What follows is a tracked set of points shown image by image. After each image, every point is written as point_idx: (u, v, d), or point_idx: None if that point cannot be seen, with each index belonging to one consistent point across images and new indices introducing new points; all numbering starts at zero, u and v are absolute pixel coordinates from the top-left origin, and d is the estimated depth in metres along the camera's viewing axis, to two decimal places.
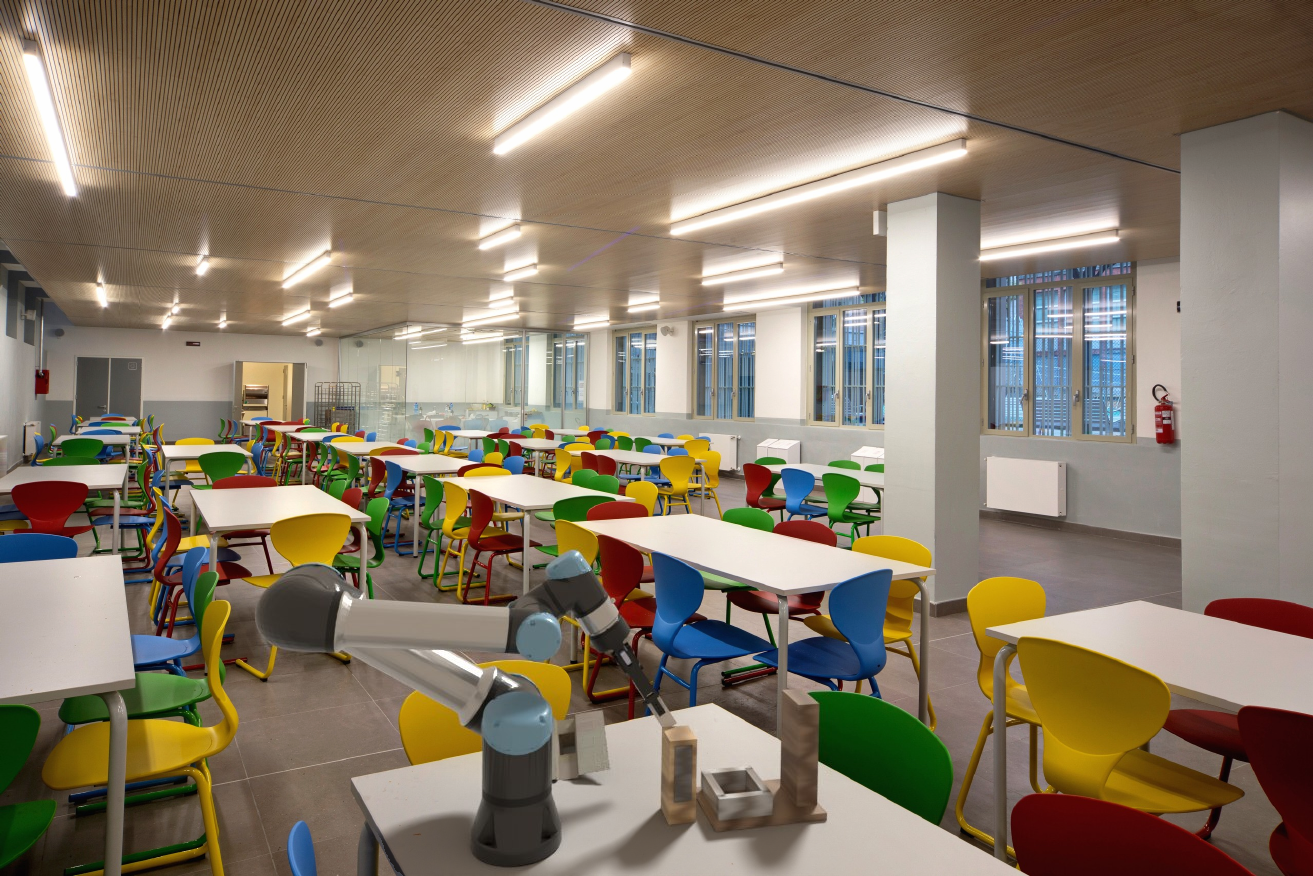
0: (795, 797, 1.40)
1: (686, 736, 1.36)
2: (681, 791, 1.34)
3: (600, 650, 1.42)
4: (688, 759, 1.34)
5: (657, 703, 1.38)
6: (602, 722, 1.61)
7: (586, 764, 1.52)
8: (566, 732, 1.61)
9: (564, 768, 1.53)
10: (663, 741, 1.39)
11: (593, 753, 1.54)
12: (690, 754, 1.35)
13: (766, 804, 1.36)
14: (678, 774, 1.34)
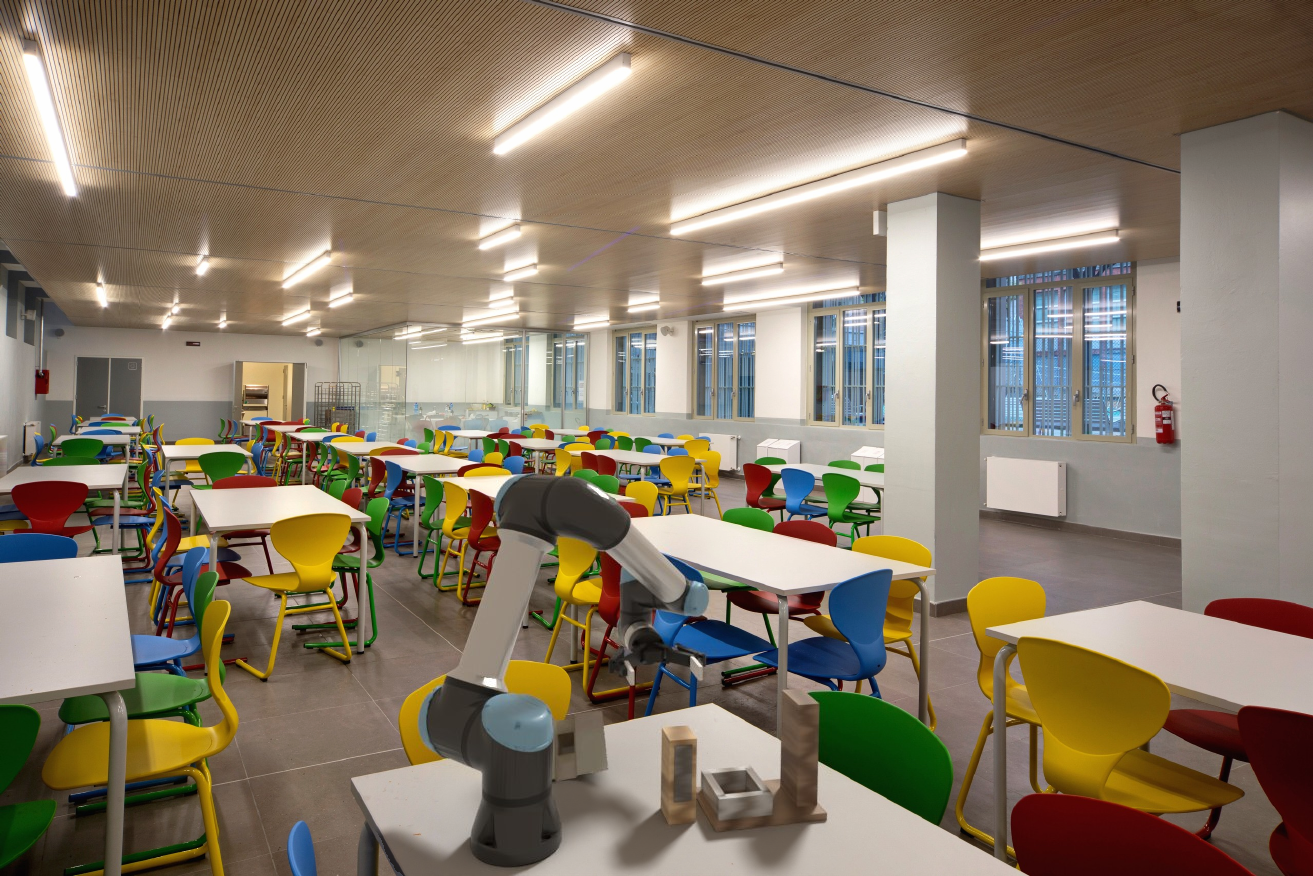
0: (795, 797, 1.40)
1: (685, 736, 1.36)
2: (681, 791, 1.35)
3: (656, 633, 1.65)
4: (688, 759, 1.35)
5: None
6: (601, 722, 1.60)
7: (584, 764, 1.52)
8: (565, 732, 1.60)
9: (562, 768, 1.53)
10: (663, 741, 1.39)
11: (592, 753, 1.54)
12: (689, 753, 1.35)
13: (766, 804, 1.36)
14: (678, 774, 1.34)
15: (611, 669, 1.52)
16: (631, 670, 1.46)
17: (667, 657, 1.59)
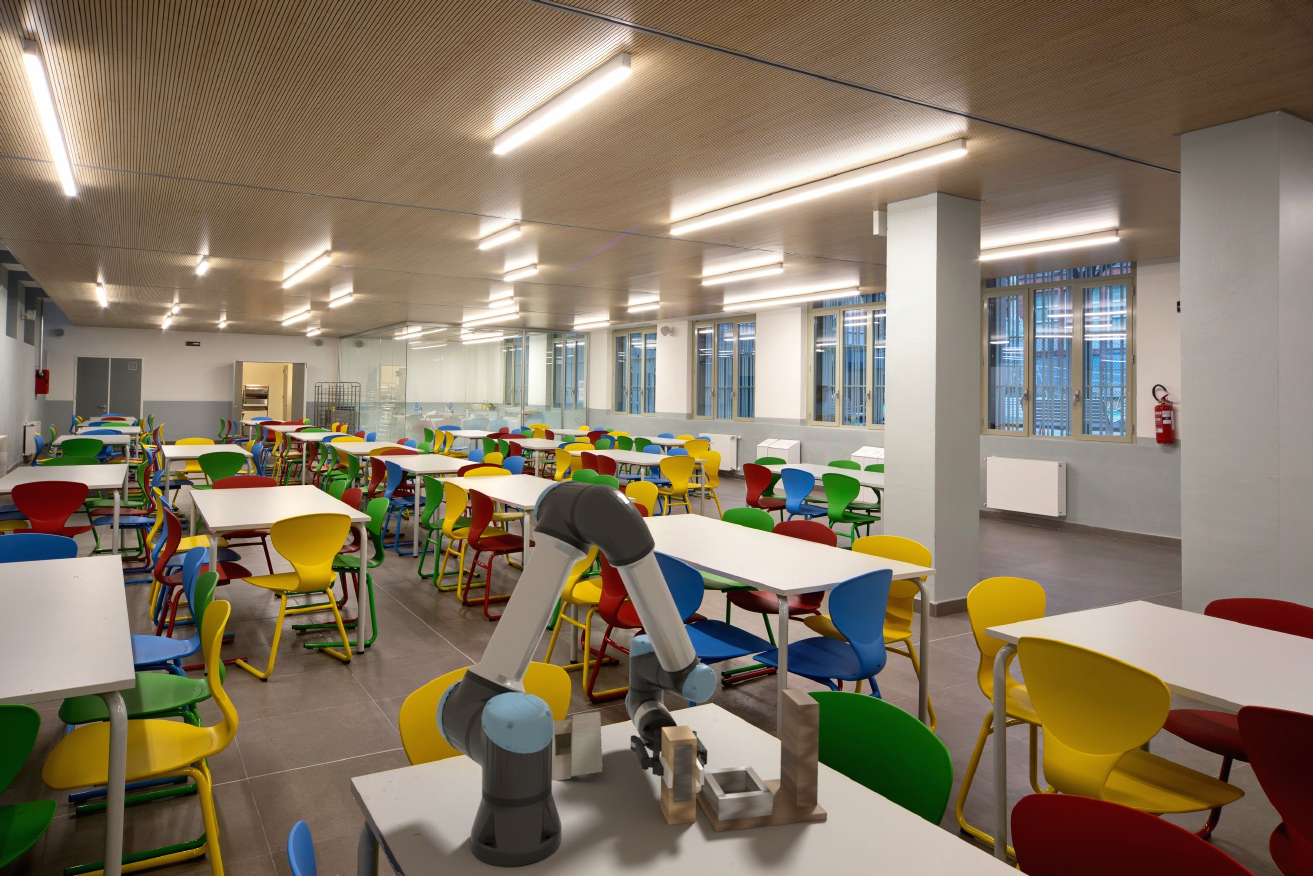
0: (795, 797, 1.40)
1: (685, 736, 1.36)
2: (681, 791, 1.35)
3: (669, 716, 1.53)
4: (688, 759, 1.35)
5: None
6: (598, 723, 1.60)
7: (579, 765, 1.52)
8: (563, 733, 1.60)
9: (558, 768, 1.53)
10: (663, 741, 1.39)
11: (587, 754, 1.54)
12: (689, 753, 1.35)
13: (766, 804, 1.36)
14: (678, 774, 1.34)
15: (646, 766, 1.38)
16: (669, 771, 1.32)
17: None
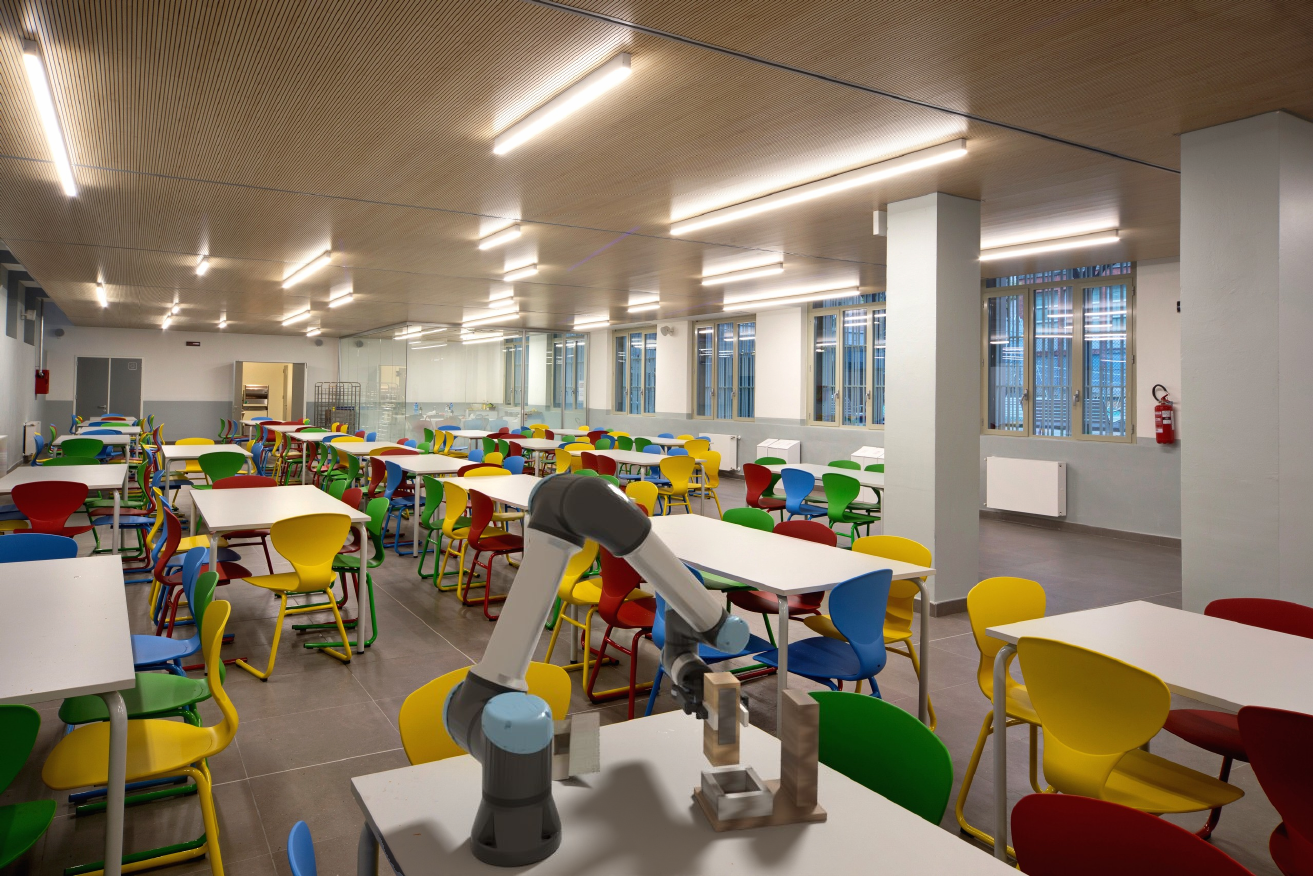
0: (795, 797, 1.40)
1: (729, 680, 1.38)
2: (725, 733, 1.37)
3: (708, 666, 1.55)
4: (732, 702, 1.37)
5: None
6: (597, 724, 1.60)
7: (576, 765, 1.51)
8: (562, 732, 1.60)
9: (556, 768, 1.53)
10: (706, 686, 1.41)
11: (585, 755, 1.53)
12: (733, 696, 1.37)
13: (766, 804, 1.36)
14: (722, 717, 1.36)
15: (690, 711, 1.40)
16: (714, 713, 1.35)
17: None
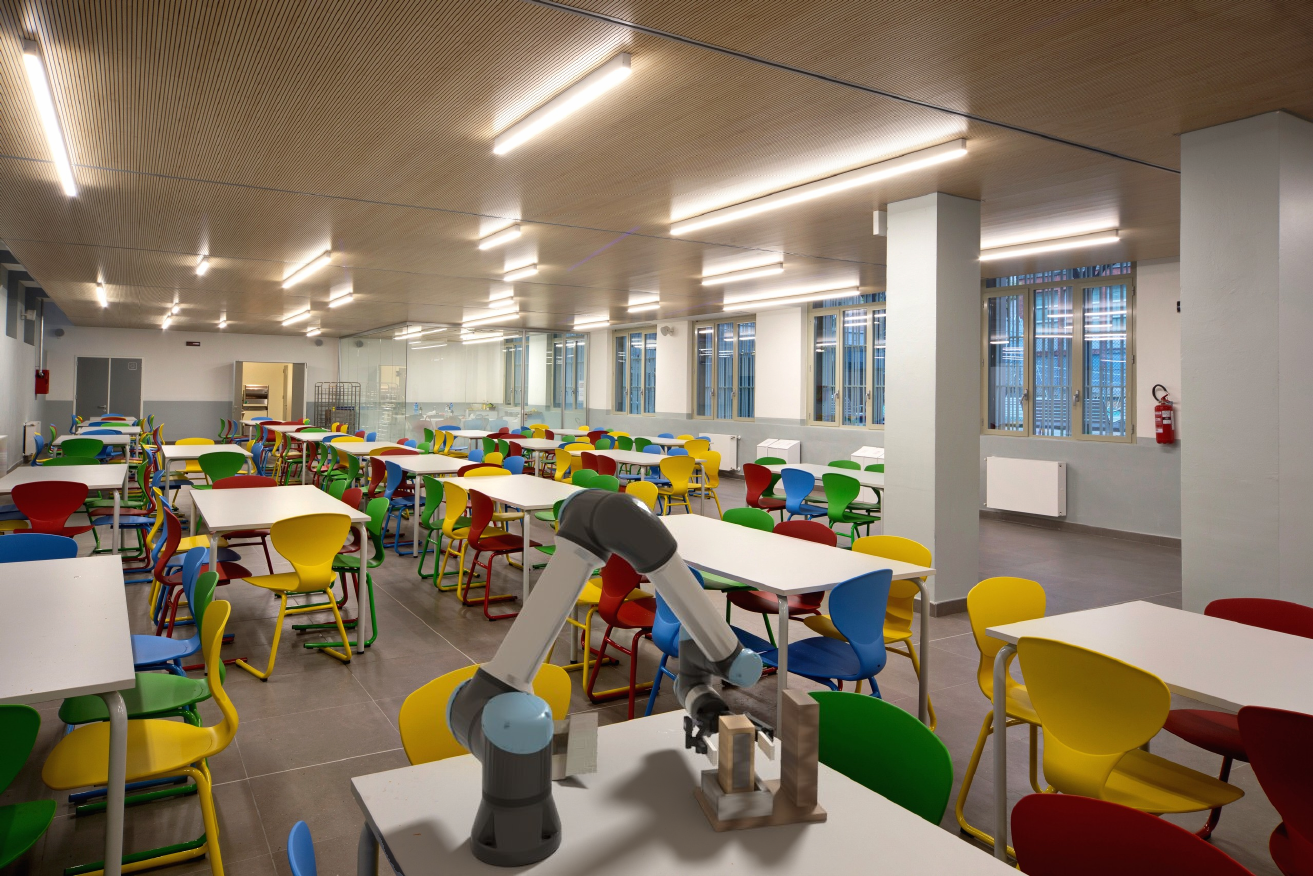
0: (795, 797, 1.40)
1: (743, 724, 1.39)
2: (739, 778, 1.37)
3: (722, 699, 1.55)
4: (746, 747, 1.37)
5: None
6: (596, 724, 1.59)
7: (574, 765, 1.51)
8: (560, 732, 1.60)
9: (553, 768, 1.53)
10: (720, 729, 1.41)
11: (583, 755, 1.53)
12: (748, 741, 1.37)
13: (766, 804, 1.36)
14: (737, 762, 1.37)
15: (689, 745, 1.41)
16: (713, 749, 1.35)
17: None
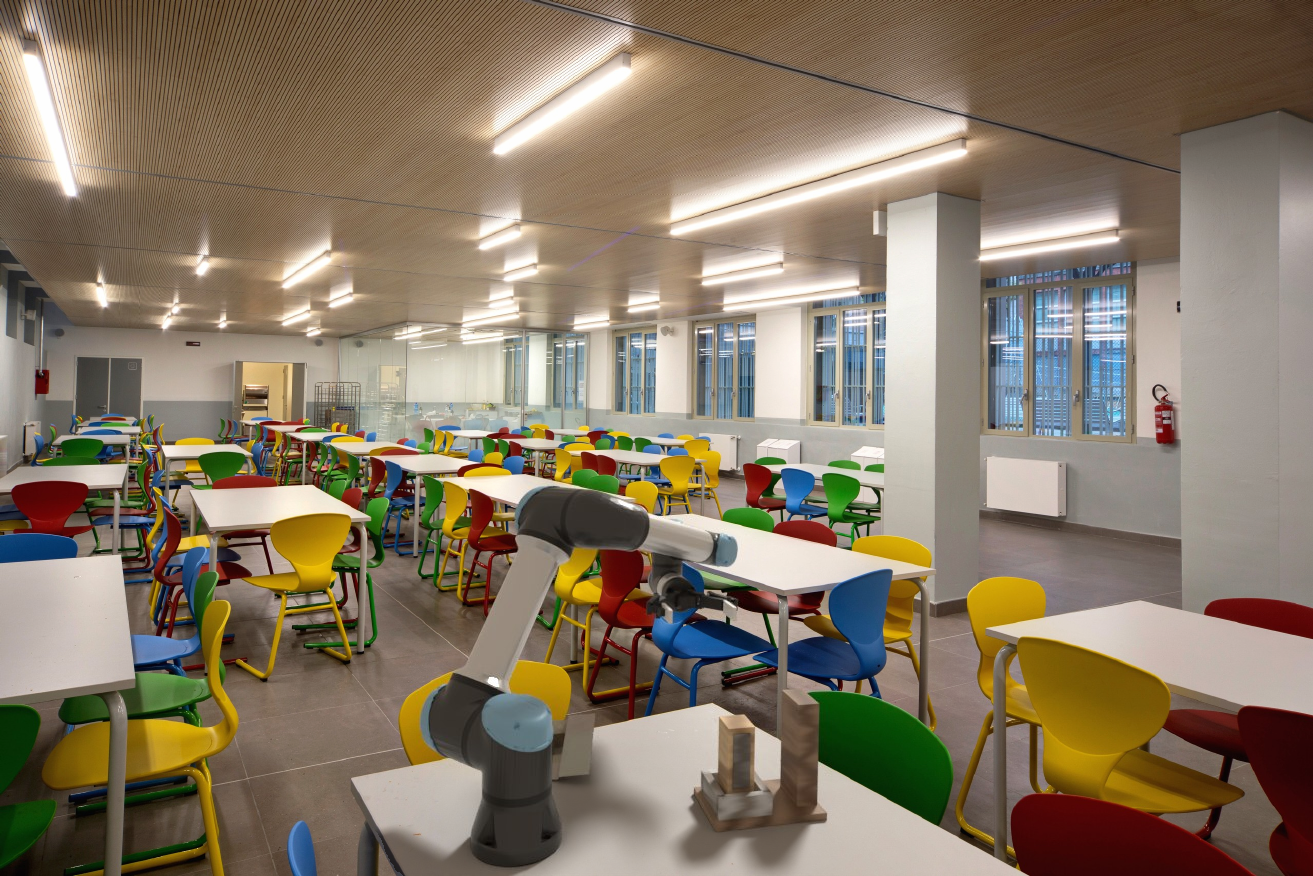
0: (795, 797, 1.40)
1: (743, 724, 1.39)
2: (739, 778, 1.37)
3: None
4: (746, 747, 1.37)
5: None
6: (592, 725, 1.59)
7: (567, 766, 1.51)
8: (557, 733, 1.60)
9: None
10: (720, 729, 1.41)
11: (577, 756, 1.53)
12: (748, 741, 1.37)
13: (766, 804, 1.36)
14: (737, 762, 1.37)
15: (649, 611, 1.60)
16: (669, 609, 1.54)
17: (700, 602, 1.67)
